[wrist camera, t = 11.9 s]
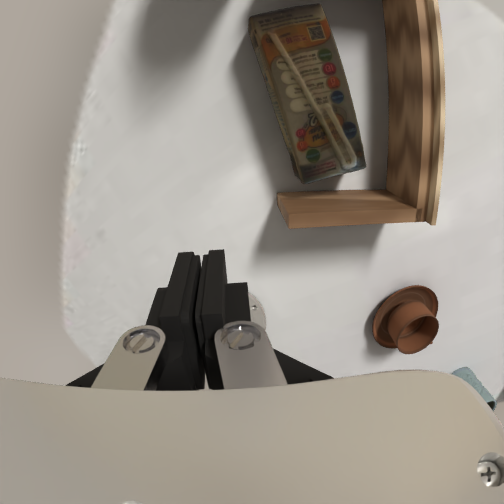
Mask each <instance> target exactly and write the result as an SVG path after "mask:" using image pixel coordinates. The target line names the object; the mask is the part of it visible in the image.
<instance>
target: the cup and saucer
mask: <svg viewBox="0 0 504 504" xmlns="http://www.w3.org/2000/svg"><path fill="white" fill-rule="evenodd" d="M437 311H438V300H437V297H436V295H435V293H434V292H433V291H432V290H430V289H429V288H427V287H424V286H419V285H415V286H409V287H406V288H403V289H401V290H399V291H397V292H396V293H394V294H393V295H391V296H390V297H389V298H388V299H387V300H386V301H385V302H384V303H383V304H382V305H381V307H380V308H379V310H378V311H377V313H376V315H375V318H374V321H373V335H374V338H375V340H376V341H377V342H378V343H379V344H380V345H381V346H383V347H386V348H398V349H399V351H400V352H402V353H404V354H413V353H417V352H419V351H421V350H423V349H424V348H426V347H427V346H428V345H429V344H432V343H433V342H432V341H433V340H434V338H435V336H436V335H437V332H438V329H439V323H438V320H437V319H436V318H435V317H436V315H437Z"/></svg>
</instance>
